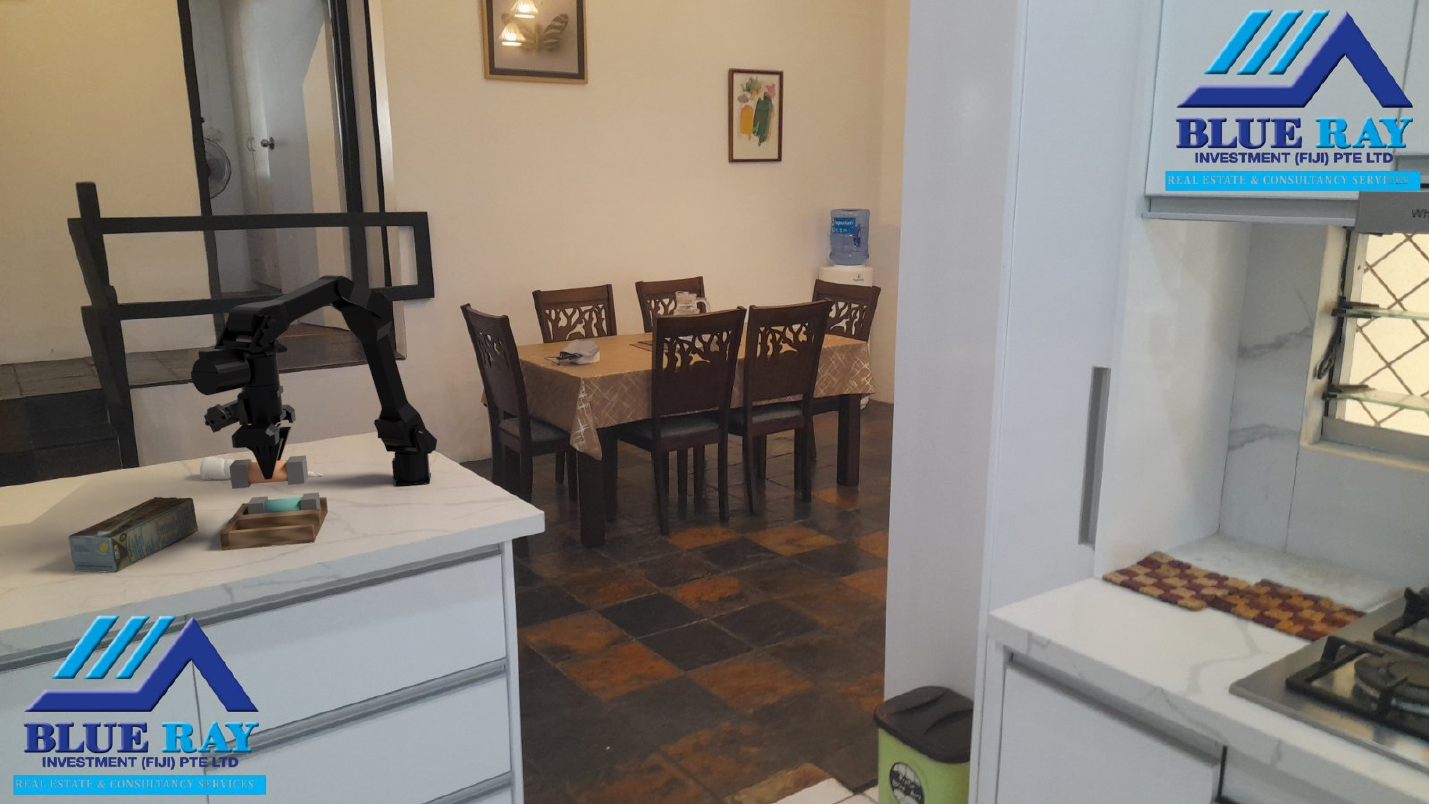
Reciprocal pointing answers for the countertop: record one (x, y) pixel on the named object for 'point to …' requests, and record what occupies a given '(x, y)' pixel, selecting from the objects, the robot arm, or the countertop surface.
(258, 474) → the orange capped cylinder
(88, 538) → the beverage carton
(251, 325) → the robot arm
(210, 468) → the unicorn horn
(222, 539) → the wooden tray
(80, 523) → the countertop surface
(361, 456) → the countertop surface
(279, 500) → the teal capped cylinder
